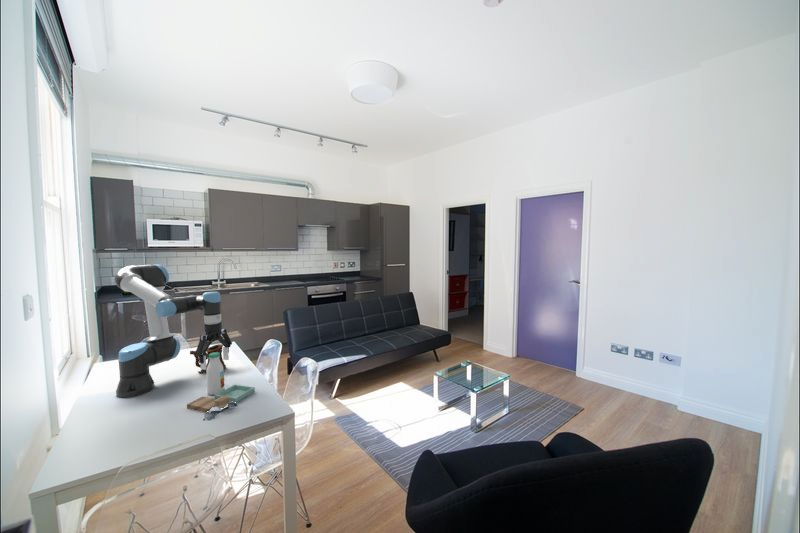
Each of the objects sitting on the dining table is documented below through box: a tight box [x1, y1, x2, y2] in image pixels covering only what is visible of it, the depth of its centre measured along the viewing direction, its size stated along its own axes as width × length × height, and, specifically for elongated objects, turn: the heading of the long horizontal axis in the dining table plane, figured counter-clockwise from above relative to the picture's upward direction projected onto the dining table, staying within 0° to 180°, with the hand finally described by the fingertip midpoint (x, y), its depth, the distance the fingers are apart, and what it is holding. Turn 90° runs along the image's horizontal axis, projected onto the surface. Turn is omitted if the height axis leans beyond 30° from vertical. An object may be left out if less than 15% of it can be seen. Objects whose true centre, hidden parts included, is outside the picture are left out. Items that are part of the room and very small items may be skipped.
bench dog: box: [214, 396, 230, 408], centre depth 144 cm, size 3×5×5 cm, turn 164°
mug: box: [189, 343, 227, 374], centre depth 187 cm, size 18×12×15 cm, turn 129°
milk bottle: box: [205, 352, 225, 396], centre depth 160 cm, size 8×8×20 cm
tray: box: [214, 384, 256, 404], centre depth 156 cm, size 12×12×2 cm
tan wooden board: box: [186, 396, 216, 414], centre depth 146 cm, size 14×8×2 cm, turn 71°
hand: (215, 364), depth 160 cm, fingers open, 13 cm apart
